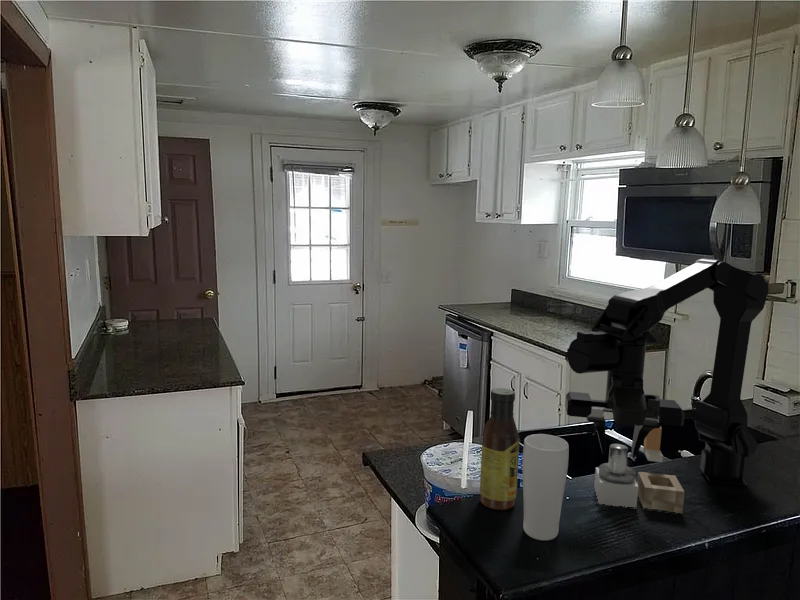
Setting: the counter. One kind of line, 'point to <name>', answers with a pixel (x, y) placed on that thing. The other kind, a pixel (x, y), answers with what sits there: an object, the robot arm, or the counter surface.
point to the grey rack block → (615, 492)
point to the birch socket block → (660, 492)
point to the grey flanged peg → (617, 466)
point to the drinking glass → (543, 484)
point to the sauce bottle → (500, 453)
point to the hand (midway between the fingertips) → (618, 455)
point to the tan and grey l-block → (653, 445)
